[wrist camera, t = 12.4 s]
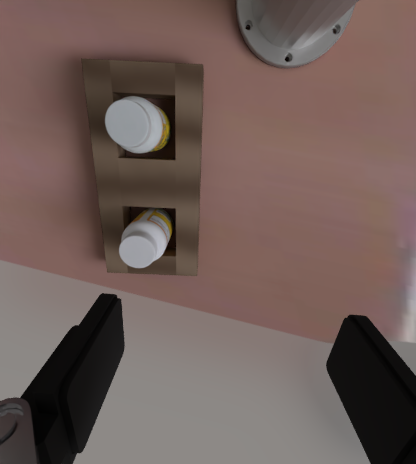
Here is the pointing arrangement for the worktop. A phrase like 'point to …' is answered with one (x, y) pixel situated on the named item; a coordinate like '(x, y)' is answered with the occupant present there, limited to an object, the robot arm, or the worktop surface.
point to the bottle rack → (147, 169)
